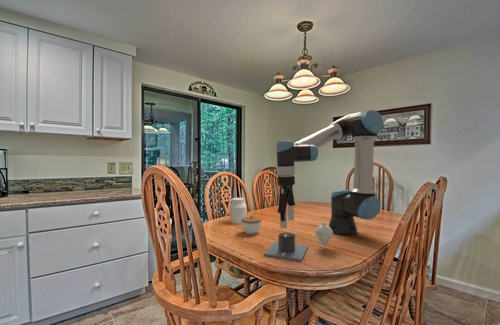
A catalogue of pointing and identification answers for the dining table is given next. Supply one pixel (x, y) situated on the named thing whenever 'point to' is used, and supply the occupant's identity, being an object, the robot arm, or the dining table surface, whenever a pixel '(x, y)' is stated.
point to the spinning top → (324, 234)
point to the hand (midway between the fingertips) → (287, 223)
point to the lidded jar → (251, 224)
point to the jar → (237, 210)
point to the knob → (286, 242)
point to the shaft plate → (294, 256)
